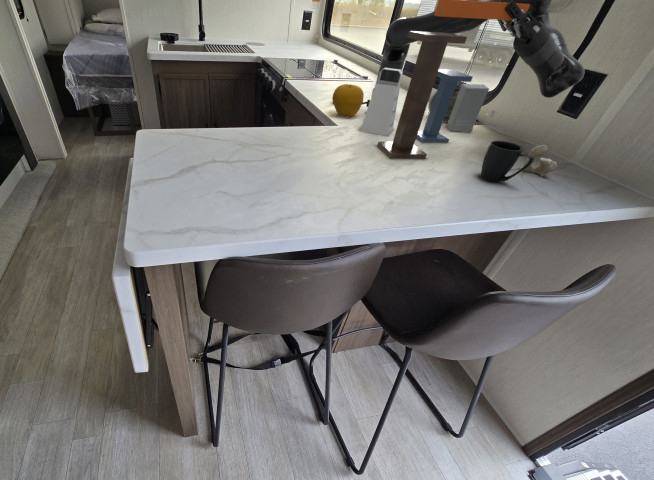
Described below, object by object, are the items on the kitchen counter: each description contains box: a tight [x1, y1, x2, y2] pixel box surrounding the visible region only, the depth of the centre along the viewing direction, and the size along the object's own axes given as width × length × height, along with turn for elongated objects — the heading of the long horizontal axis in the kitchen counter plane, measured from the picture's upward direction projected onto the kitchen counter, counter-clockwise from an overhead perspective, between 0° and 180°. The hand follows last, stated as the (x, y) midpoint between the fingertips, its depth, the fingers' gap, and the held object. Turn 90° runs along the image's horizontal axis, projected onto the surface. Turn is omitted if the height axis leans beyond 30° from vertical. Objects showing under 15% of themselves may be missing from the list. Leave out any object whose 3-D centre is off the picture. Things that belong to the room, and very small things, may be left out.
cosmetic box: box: [446, 83, 490, 133], centre depth 134 cm, size 8×7×16 cm
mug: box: [479, 140, 535, 183], centre depth 98 cm, size 8×12×10 cm
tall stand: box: [377, 31, 468, 160], centre depth 105 cm, size 12×12×32 cm
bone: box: [522, 144, 558, 178], centre depth 104 cm, size 9×6×10 cm
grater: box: [359, 68, 403, 137], centre depth 127 cm, size 10×10×20 cm
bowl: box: [427, 90, 459, 121], centre depth 147 cm, size 14×15×10 cm
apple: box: [331, 83, 365, 118], centre depth 143 cm, size 13×13×11 cm
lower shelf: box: [416, 68, 474, 144], centre depth 122 cm, size 10×12×21 cm
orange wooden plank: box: [434, 0, 530, 21], centre depth 92 cm, size 24×4×4 cm, turn 96°
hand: (503, 4), depth 92 cm, fingers closed on orange wooden plank, 4 cm apart
